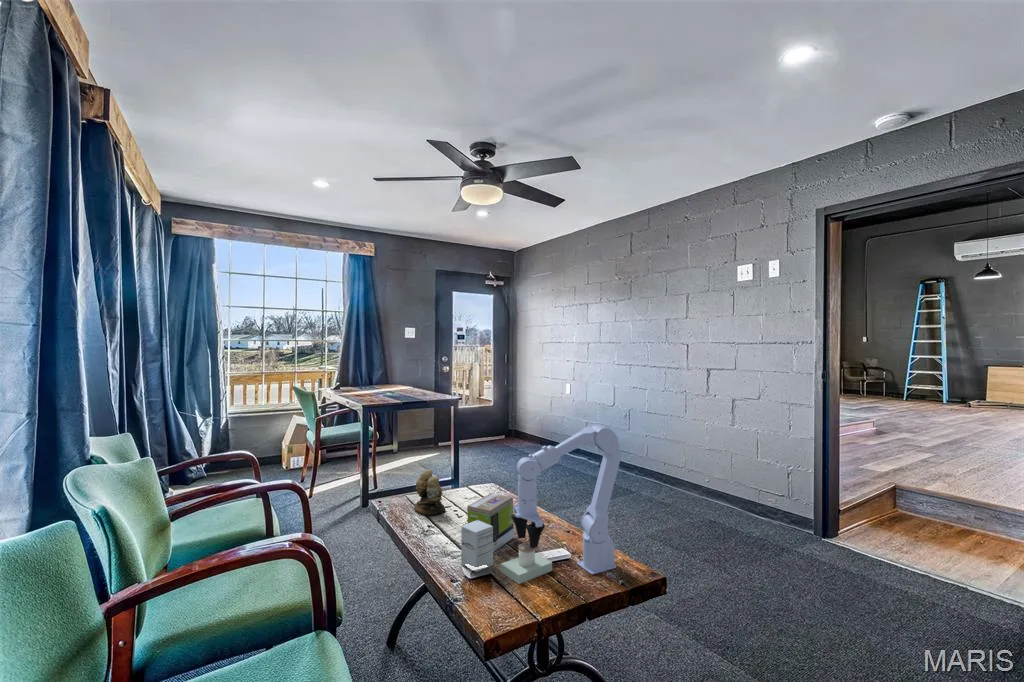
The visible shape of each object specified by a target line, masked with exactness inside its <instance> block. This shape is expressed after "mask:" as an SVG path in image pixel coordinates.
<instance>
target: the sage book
mask: <svg viewBox="0 0 1024 682" xmlns="http://www.w3.org/2000/svg"><path fill="white" fill-rule="evenodd" d="M518 561H519V556H518V557H514V558H512V559H510V560H507V561H504V562H502V563H500V573H501V574H503V575H505V576H506V577H508V578H509V579H511V580H512V581H514V582H515V583H517V584H519V585H521V584H522V583H525V582H527V581H531V580H533V579H535V578H538V577H540V576H542V575H544V574H547V573H550V572H552V571H553V562H552V561H550V560H549V559H547V558H546V557H543V556H542V555H540V554H538V553H536V552H535V564H534V566H531V567H523V566H521V565H519V563H518Z"/></svg>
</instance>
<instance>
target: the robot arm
mask: <svg viewBox="0 0 1024 682" xmlns="http://www.w3.org/2000/svg"><path fill="white" fill-rule="evenodd" d="M582 446H587V447H593V448H594V447H597V448H598V450H599V452H600V453H601V454H602V460H601V464H600V466H599V467H600V468H599V471H598V476H597V479H596V483H595V487H594V491H593V495H592V497H591V498H592V499H591V502H590V504H589V505H588V506H587V507H586V510H585V512H584V514H583V515H582V517H581V519H580V527H581V528H582V529H583V530H584V531H583V533H582V560H580V561H577V562H576V564H577V565H578V566H580V567H581V568H582V569H583V570H584V571H586V572H588V573H589V574H590V575H596V574H600V573H603V572H606V571H610V570H613V569H616V568H617V566H616V565H615V544H614V543H615V542H614V541H613V538H612V537H610V531H609V522H610V518H609V513H608V510H609V507H610V506H609V505H610V501H611V499H612V498H611V497H612V494H613V490H614V487H615V486H614V485H615V483H616V477H617V474H618V470H619V466H620V464H621V463H620V462H621V459H622V453H621V449H620V445H619V437H618V436H617V435H616V433H615V432H614V431H613V430H612V429H611V428H608V427H606V426H604V425H603V424H602V423H599V422H595V423H592V424H591V425H588V426H585V427H583V428H582V429H581V430H579V431H578V432H577V433H575V434H573V435H572V436H570V437H568V438H567V439H565V440H563V441H561V443H560V442H559V444H557V445H555V446H553V445H543V446H541V449H540V450H538V451H536V452H534V453H529V454H528V456H524V457H521V458H520V459H519V460H518V462H517V463H516V465H515V467H516V468H515V469H516V471H517V473H518V479H517V481H518V483H517V504H516V505H513V515H511V517H512V519H513V521H514V527H515V529H516V533H517V534H516V535H517V538H518V540H519V539H524V538H526V536H527V535H526V534H528V538H529V539H528V541H529V542H528V543H530V547H531V548H538V546H539V541H540V539H541V535H542V533H543V531H544V529H545V527H546V524H544V522H543V521H544V520H543V519H542V518H541V517H540V514H539V513H538V506H537V505H538V503H537V502H538V498H537V497H538V494H537V493H538V491H537V490H538V489H537V487H538V486H537V485H538V483H537V477H538V475H539V473H542V472H543V471H545V470H547V469H548V468H551V467H552V466H554V465H556V464H558V463H559V462H560V459H561V457H562V456H564V455H566V454H568V453H570V452H572V451H574V450H576V449H579V448H580V447H582ZM528 521H530V522H531V523H530V524H528Z"/></svg>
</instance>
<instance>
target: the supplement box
mask: <svg viewBox="0 0 1024 682" xmlns="http://www.w3.org/2000/svg"><path fill="white" fill-rule="evenodd" d="M460 527H461V535H460V536H461V538H460V539H461V541H460V542H461V543H460V544H461V545H460V546H461V547H460V548H461V550H460V551H461V553H460V558H461V563H460V564H461V566H463V565H465V564H469V565H471V566H474V567H479V566H482V565H487V566H490V567H492V566H493V565H494V557H493V556H494V552H493V526H491V525H489V524H486V523H484V522H481V521H479V520H476V521H473V522H471V523H468V522H467V523H466V524H463V525H461V526H460ZM463 567H464V566H463Z"/></svg>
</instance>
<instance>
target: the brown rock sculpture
mask: <svg viewBox="0 0 1024 682" xmlns="http://www.w3.org/2000/svg"><path fill="white" fill-rule="evenodd" d="M415 490H416V492H417V494H418V497H420V499H419V500H417V502H416V503H415V504H414V507H413V510H414V511H415V513H417V514H419V515H420V514H421V516H424V515H425V516H426V517H434V516H438V515H443V514H444V513H445V511H446V507H445V505H444V504H443V503H442V501H443V500H442V499H443V498H442V495H443V489H442V486H441V485H440V479H439V477H438V476H435V475H433V470H431V469H426V470H424V471H423V472H422V473H421V474H420V476H419V477H418V478H417V479H416V483H415ZM442 513H443V514H442Z"/></svg>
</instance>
